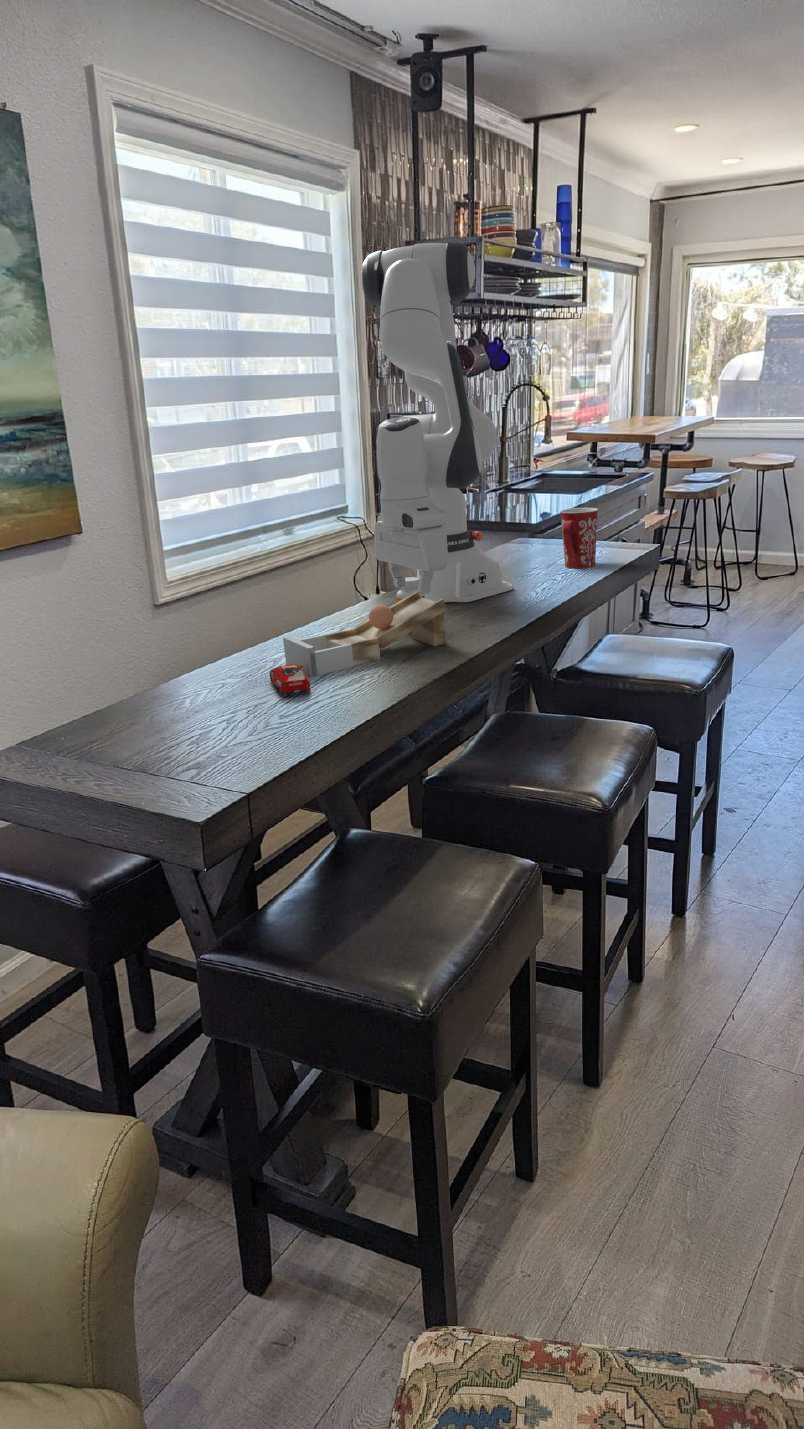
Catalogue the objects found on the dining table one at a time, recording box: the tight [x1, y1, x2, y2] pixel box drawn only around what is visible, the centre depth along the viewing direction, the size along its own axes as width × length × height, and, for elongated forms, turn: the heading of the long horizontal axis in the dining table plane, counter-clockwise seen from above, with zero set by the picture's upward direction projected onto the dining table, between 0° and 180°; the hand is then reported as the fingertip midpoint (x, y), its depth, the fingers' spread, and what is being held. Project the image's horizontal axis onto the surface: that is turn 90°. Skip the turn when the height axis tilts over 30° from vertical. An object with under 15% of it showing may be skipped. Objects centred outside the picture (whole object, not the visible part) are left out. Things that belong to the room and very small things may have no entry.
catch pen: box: [282, 633, 355, 678], centre depth 172 cm, size 8×10×5 cm
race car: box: [268, 664, 311, 697], centre depth 162 cm, size 13×5×4 cm, turn 15°
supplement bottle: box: [396, 576, 425, 603], centre depth 192 cm, size 5×5×10 cm
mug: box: [559, 507, 599, 569], centre depth 237 cm, size 13×9×14 cm
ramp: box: [325, 592, 448, 666], centre depth 178 cm, size 20×10×8 cm, turn 120°
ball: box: [368, 604, 393, 629], centre depth 177 cm, size 4×4×4 cm
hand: (411, 590), depth 179 cm, fingers open, 7 cm apart
